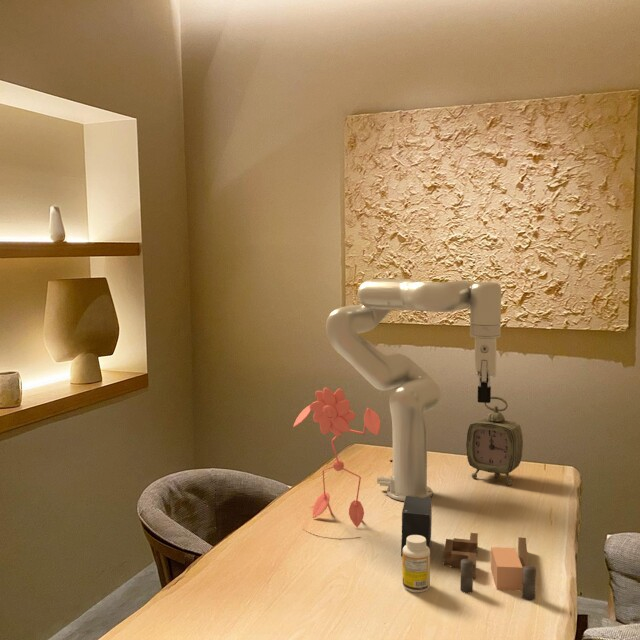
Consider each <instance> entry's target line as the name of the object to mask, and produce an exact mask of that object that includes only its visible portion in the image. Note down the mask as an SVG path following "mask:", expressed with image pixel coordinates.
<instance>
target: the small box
mask: <svg viewBox="0 0 640 640" xmlns="http://www.w3.org/2000/svg"><path fill="white" fill-rule="evenodd" d="M403 502H404V503H403V507H402V511H401V548H400V549H401V552H400V556H401V557H403V547H404V546H405V545H406V539H407V537H408V536H410V535H420V536H423V537H425V538H426V546H427V547H428V548H429V549H430V548H431V541H432V518H433V517H432V516H433V514H432V512H433V511H432V507H433V506H432V497H430V498H421V497H411V496H406V497H405V501H403ZM430 550H431V549H430Z"/></svg>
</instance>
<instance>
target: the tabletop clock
mask: <svg viewBox="0 0 640 640" xmlns="http://www.w3.org/2000/svg"><path fill="white" fill-rule="evenodd" d="M491 400H499V401H502V402H503V403H504V404H505V407H503V408H499V407H498V406H497V405H495V406H493V407H490V406H488V405H487V403H484V406H485V407H486V409H488V410H490V411H492V412H490V413H488V414H487V416H486V417H483V418H479V419H478V420H476V421H473V422H472V423H471V424H469V427H468V429H467V433H466V435H467V436H466V444H465V445H466V458H467V462H468V464H469V466H471V467H472V468H473V469H476V470H475V472H473V473H472V474H471V478H472V479H477V478H478V473H479V472H480V471H481V472H487V473H492V474H494V477H495V478H497V479H498V478H499V477H500V476H501V475H505V477H506V478H507V480H506V485H507V486H512V485H513V481H512V480H511V479H510V474H511V472H513V471H514V470H515V469H517V468H518V467H519V466H520V464H521V461H522V458H523V450H524V449H523V447H524V443H523V442H524V441H523V440H524V439H523V432H522V429H521V425H520V424H519V423H517V422H515V421H513V420H508V419H506V418H505V416H504V415H503V414H502V413H501V412H504V411H505V410H507V409H508V407H509V405H508V402H507V401H506V400H505V399H504V398H502V397H500V396H491Z"/></svg>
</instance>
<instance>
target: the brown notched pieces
mask: <svg viewBox="0 0 640 640" xmlns="http://www.w3.org/2000/svg"><path fill="white" fill-rule="evenodd" d="M469 536H470V537H469V539H467V538H455V537H454V538H453V539H451V538H446V539H445V542H444V550H443V566H445V567H450V569H455V570H456V569H457V570H460V589H459V590H460V592H462V593H464V592H465V594H471V593H473V591H474V590H473V589H474V588H473V585H474V583H473V581H474V580H475V579H476V569H477V557H478V547H479V546H478V542H479V541H478V540H479V539H478V537H479V533H477V532H470V535H469ZM517 542H518V544H517V545H518V546H517V549H518V550H517V554H518V557H519V559H520V562H521V565H522V567H523V577H522V592H521V593H522V595H521V596H522V598H523V599H524V600H525V601H526V600H527V601H534V600H535V599H536V576H537V575H536V574H537V573H536V571H537V568H536V567H535V566H534V565H529V559H528V548H527V539H526V537H522V536H521V537H520V536H518V541H517ZM470 592H471V593H470Z"/></svg>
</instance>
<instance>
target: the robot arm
mask: <svg viewBox="0 0 640 640" xmlns="http://www.w3.org/2000/svg"><path fill="white" fill-rule="evenodd" d="M356 296H357V299H358V302H359V304H353V305H346V306H341V307H338V308H336V309H334V310H332V311H331V312H330V313H329V315H328V316H327V319H326V322H325V323H326V324H325V331H326V337H327V340H328V341H329V343H330V344H329V345H331V346H332V348H333V349H334V350H335V351H336V353H337V354H338V355H340V356H341V357H342V358H343V359H345V361H347V363H349V364H350V365H351V366H352V367H353V368H354V370H356V371H357V372H358V373H359V374H360V375H361V376H362V377H363V378H364V379H365V380H366V381H367V382H368V383H369V384H370V385H371V386H373V388H375V389H377V390H378V391H383V392H384V391H389V390H391V389H393V390H392V392H391V394H390V396H389V411H390V416H391V423H392V424H391V427H392V434H391V435H392V476H388V477H384V476H377V478H376V482H377V485H378V484H379V486H380V487H387V488H386V494H387V496H388V497H389V498H391V499H394V500H396V501H401V502H405V497H406V496H411V497H421V498H432V496H433V490H432V488H431V487H429V486H428V485H427V484H428V483H427V482H428V480H427V479H428V477H427V475H428V471H427V470H428V430H427V429H428V428H427V424H426V421H425V420H426V419H425V417H424V414H425V413H427V412H429V411H432V410H434V409H435V408H436V407H438V405H439V404H440V402H441V401H442V391H441V388H440V386H439V384H438V383H437V382H436V380H434V378H433V377H431V375H429V374H428V372H426V371H425V370H424V369H422V368H421V367H420V366H419V365H418V363H416V362H415V361H414V360H413V359H412V358H410V357H408V356H407V355H404V354H401V353H392V354H391V353H390V354H385V353H383V352H382V351H380V350H379V349H378V348H377V347H376V346H375V345H374V344H373V343H372V342H371V341H369V340H367V339H365V338H363V337H361V335H360V334H363V333H369V332H371V331H372V330H374V329H375V328H376V327H377V326H378V325H379V324H380V323H381V322H382V321H383V320H384V319H385V317H386V316H387V315H388V314H389V313H391V311H392V310H394V311H395V310H397V311H411V312H413V311H415V312H433V313H434V312H436V313H437V312H438V313H447V312H455V311H462V310H467V309H469V310H470V313H469V315H470V316H469V317H470V319H469V320H470V321H469V323H470V324H469V337H470V338H474V367H475V376H476V377H478V386H477V402H478V403H479V404H481V403H486V404H490V403H491V400H492V399H491V397H492V396H491V395H492V394H491V392H492V388H491V376H492V377H493V378H496V376H497V339H499V338H501V330H502V329H501V327H502V326H501V323H502V321H501V320H502V316H501V315H502V287H501V284H499V283H498V282H492V281H491V282H490V281H489V282H487V281H481V282H479V281H478V282H475V281H469V280H452V281H443V282H442V281H439V282H437V281H436V282H432V281H431V282H429V281H428V282H427V281H425V282H422V281H415V280H414V279H412V278H388V277H384V278H383V277H382V278H372V279H368V280H365V281H363V282H362V283H361V284H360V285H359V287H358V288H357V295H356Z"/></svg>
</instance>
